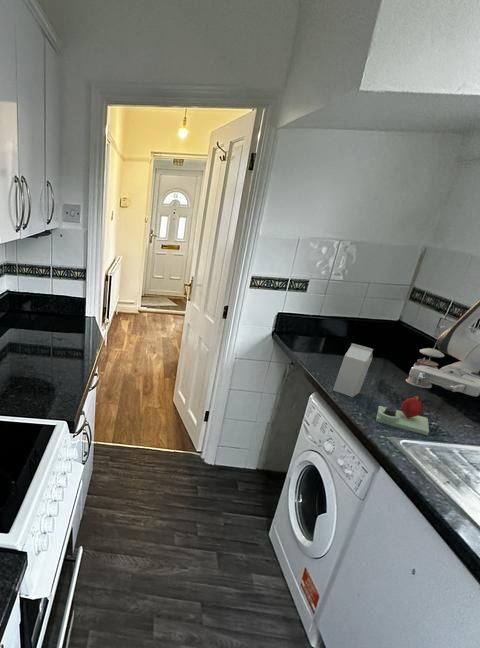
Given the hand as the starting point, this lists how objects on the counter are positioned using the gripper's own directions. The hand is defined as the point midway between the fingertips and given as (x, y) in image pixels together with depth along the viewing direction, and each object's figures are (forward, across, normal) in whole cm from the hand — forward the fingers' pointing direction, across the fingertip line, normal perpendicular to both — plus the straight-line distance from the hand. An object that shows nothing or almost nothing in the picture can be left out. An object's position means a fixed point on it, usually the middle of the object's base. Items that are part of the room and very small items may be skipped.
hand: (435, 383), depth 139 cm
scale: (+14, -1, +12) cm, 18 cm away
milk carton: (+8, -23, +12) cm, 27 cm away
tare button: (+19, -3, +9) cm, 21 cm away
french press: (-30, -14, +12) cm, 35 cm away
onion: (+12, 0, +10) cm, 16 cm away
